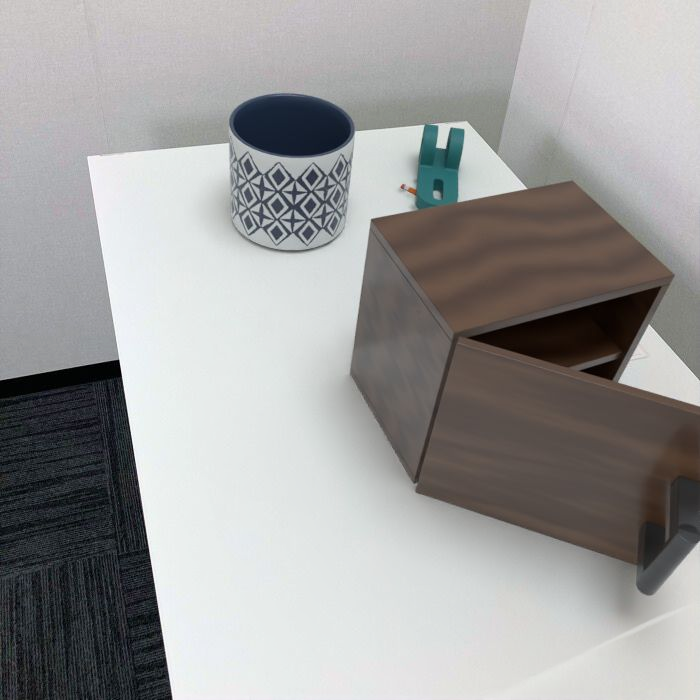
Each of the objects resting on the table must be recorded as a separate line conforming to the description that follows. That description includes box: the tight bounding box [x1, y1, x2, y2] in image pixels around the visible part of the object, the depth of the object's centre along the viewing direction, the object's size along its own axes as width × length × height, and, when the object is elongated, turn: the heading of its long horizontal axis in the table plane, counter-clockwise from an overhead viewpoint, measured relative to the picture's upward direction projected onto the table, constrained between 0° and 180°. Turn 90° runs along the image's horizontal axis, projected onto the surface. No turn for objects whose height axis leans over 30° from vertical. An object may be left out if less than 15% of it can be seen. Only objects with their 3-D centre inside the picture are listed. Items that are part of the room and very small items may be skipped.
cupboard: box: [349, 179, 676, 484], centre depth 85 cm, size 18×26×24 cm
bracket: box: [415, 123, 466, 210], centre depth 124 cm, size 18×7×8 cm, turn 174°
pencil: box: [400, 183, 417, 196], centre depth 123 cm, size 1×18×1 cm, turn 53°
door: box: [415, 336, 700, 597], centre depth 70 cm, size 8×26×24 cm, turn 72°
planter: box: [228, 92, 356, 251], centre depth 111 cm, size 18×18×16 cm
